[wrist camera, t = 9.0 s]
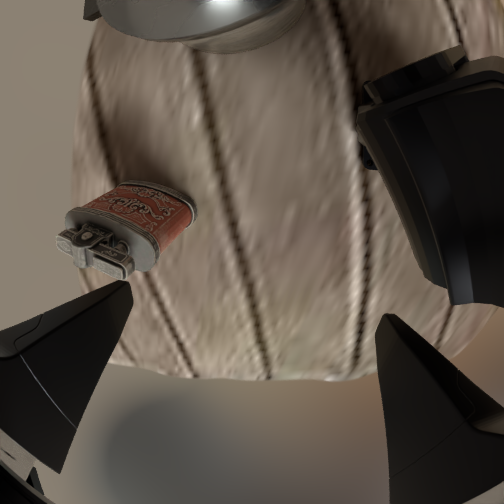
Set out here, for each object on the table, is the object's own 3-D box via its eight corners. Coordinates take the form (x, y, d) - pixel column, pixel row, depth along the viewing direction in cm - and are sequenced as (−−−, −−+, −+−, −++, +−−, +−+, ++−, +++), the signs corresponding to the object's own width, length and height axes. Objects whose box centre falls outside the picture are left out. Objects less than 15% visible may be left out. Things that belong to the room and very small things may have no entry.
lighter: (119, 207, 23) (45, 259, 15) (121, 173, 22) (38, 216, 13) (194, 232, 23) (134, 305, 14) (201, 196, 21) (133, 258, 13)
